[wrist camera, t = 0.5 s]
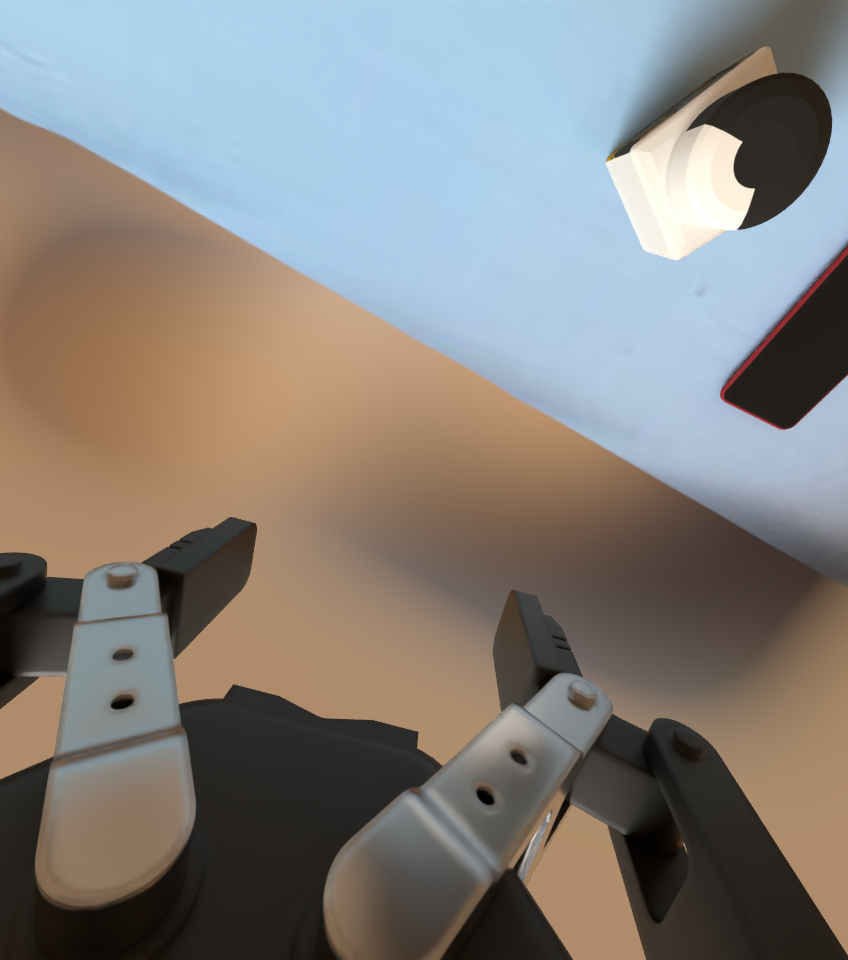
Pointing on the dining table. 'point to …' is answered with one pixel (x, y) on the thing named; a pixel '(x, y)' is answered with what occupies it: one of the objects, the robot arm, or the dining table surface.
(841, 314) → the smartphone
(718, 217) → the medicine bottle
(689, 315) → the dining table surface
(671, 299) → the dining table surface
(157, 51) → the dining table surface
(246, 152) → the dining table surface
